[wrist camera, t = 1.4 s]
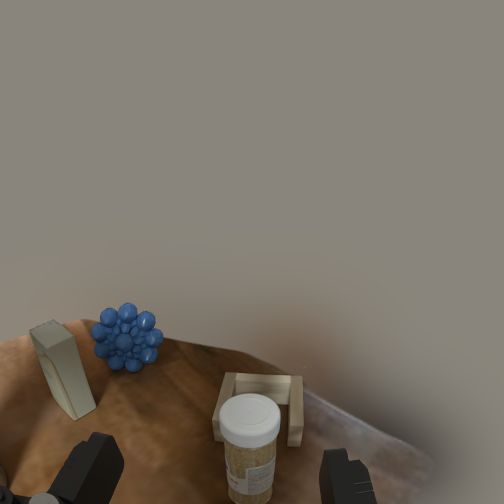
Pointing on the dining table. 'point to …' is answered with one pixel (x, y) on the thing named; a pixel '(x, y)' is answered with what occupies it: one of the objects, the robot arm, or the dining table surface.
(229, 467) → the spice jar
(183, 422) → the dining table surface
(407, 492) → the dining table surface
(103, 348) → the blue bumpy cluster
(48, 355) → the skincare box
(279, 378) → the pocket
